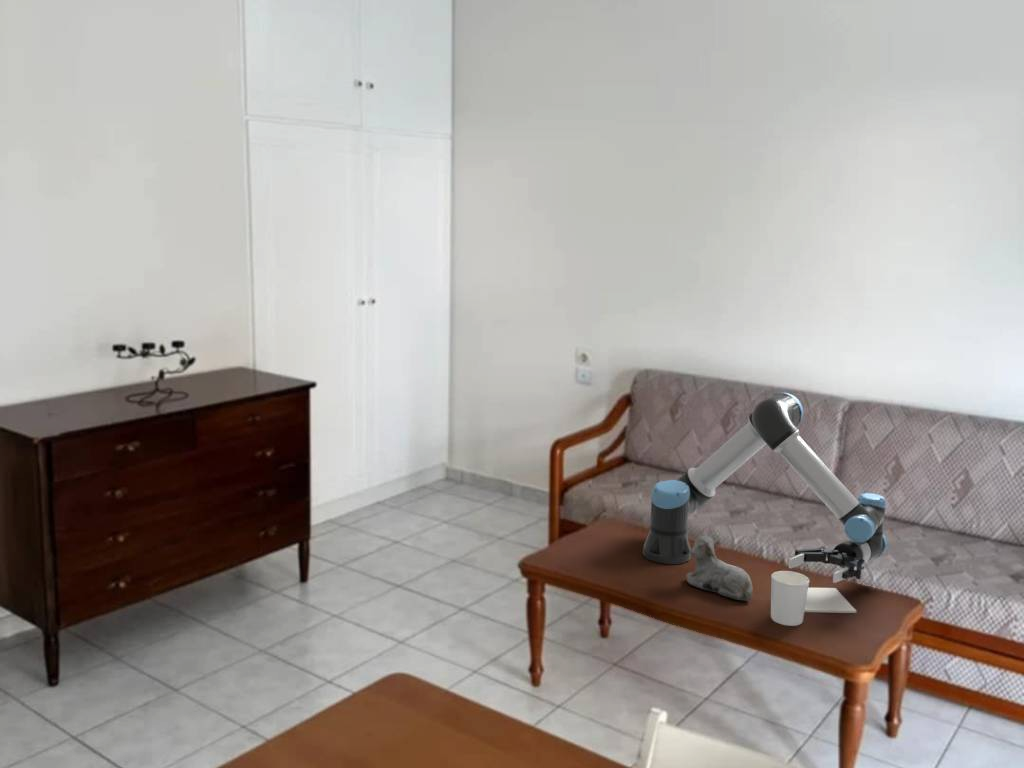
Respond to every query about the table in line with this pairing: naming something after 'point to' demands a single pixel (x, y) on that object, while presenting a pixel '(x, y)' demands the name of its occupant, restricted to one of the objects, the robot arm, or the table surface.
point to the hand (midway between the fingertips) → (811, 570)
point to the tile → (827, 601)
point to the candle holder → (788, 597)
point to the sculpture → (718, 573)
